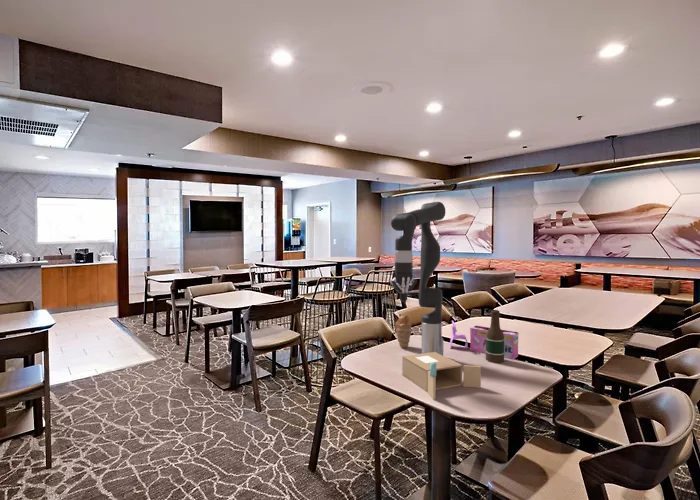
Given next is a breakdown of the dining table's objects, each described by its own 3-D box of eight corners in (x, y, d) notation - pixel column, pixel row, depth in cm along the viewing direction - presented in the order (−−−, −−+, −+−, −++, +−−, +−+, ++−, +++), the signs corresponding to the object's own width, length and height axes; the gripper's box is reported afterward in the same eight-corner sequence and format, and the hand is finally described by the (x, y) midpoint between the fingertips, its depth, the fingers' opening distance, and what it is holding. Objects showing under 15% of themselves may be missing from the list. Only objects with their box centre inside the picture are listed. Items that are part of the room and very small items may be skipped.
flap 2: (463, 386, 142) (463, 365, 142) (463, 385, 143) (463, 365, 142) (480, 387, 141) (480, 366, 141) (480, 386, 142) (480, 366, 141)
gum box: (467, 352, 186) (467, 327, 186) (473, 349, 191) (473, 324, 191) (513, 362, 171) (513, 335, 170) (518, 358, 176) (519, 332, 176)
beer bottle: (485, 363, 168) (486, 311, 168) (486, 358, 176) (486, 308, 175) (504, 365, 166) (504, 312, 165) (503, 360, 173) (504, 309, 172)
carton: (434, 370, 160) (435, 351, 160) (461, 385, 143) (462, 364, 143) (402, 375, 154) (402, 355, 154) (426, 391, 137) (426, 369, 137)
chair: (468, 352, 185) (468, 323, 185) (449, 351, 187) (450, 322, 186) (465, 348, 193) (466, 319, 193) (448, 347, 195) (448, 318, 195)
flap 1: (425, 392, 136) (425, 359, 136) (431, 392, 136) (431, 358, 136) (431, 399, 130) (431, 364, 130) (437, 399, 130) (437, 364, 130)
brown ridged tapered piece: (392, 348, 193) (392, 314, 192) (402, 345, 198) (402, 312, 197) (405, 352, 186) (405, 316, 186) (415, 349, 191) (415, 314, 191)
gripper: (394, 262, 152) (394, 304, 152) (421, 261, 157) (421, 302, 157) (385, 261, 159) (385, 301, 159) (412, 260, 164) (412, 299, 164)
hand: (403, 301), depth 158 cm, fingers closed
